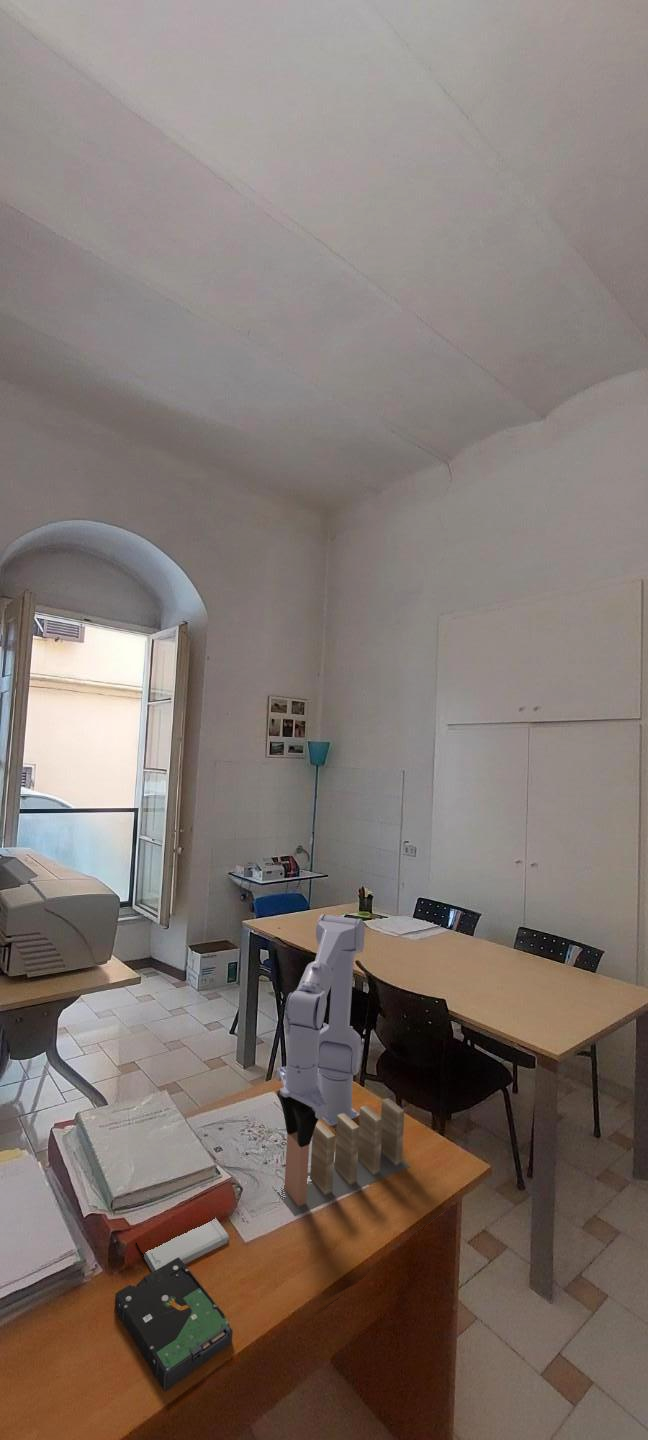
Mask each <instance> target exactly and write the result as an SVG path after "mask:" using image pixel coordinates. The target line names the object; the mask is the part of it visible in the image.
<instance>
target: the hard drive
mask: <svg viewBox="0 0 648 1440" xmlns="http://www.w3.org/2000/svg"><path fill="white" fill-rule="evenodd" d="M228 1243H230V1235H229V1234H228V1232H227V1231H226V1229H225V1228H224V1227H223V1226H222V1224H221V1223H220V1221H218V1219H217V1218H216V1217H215V1219H213V1220H212V1221H210V1222H208V1223H206V1224H204V1225H202V1226H200V1227H197V1228H195V1229H192V1230H190V1231H188V1232H187V1233H184V1234H182V1235H180V1236H177V1237H175V1238H173V1239H171V1240H170V1241H168V1242H166V1243H163V1244H162V1245H160V1246H158V1247H155V1248H154V1249H151V1250H148V1251H147V1252H145V1254H144V1257H143V1259H144V1260H145V1263H146V1264H147V1266H148V1268H149V1269H150V1271H151V1273H152V1272H153V1271H155V1270H157V1269H159V1268H161V1267H162V1266H164V1265H166V1264H167V1263H169V1262H171V1261H173V1260H174V1259H176V1258H178V1257H179V1258H180V1259H181V1260H182V1262H183V1263H184V1264H185V1265H187V1264H188V1263H190V1262H192V1261H194V1260H196V1259H199V1258H200V1257H202V1256H204V1255H205V1254H208V1253H210V1252H212V1251H214V1250H215V1249H217V1248H219V1247H222V1246H223V1245H226V1244H228Z"/></svg>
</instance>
